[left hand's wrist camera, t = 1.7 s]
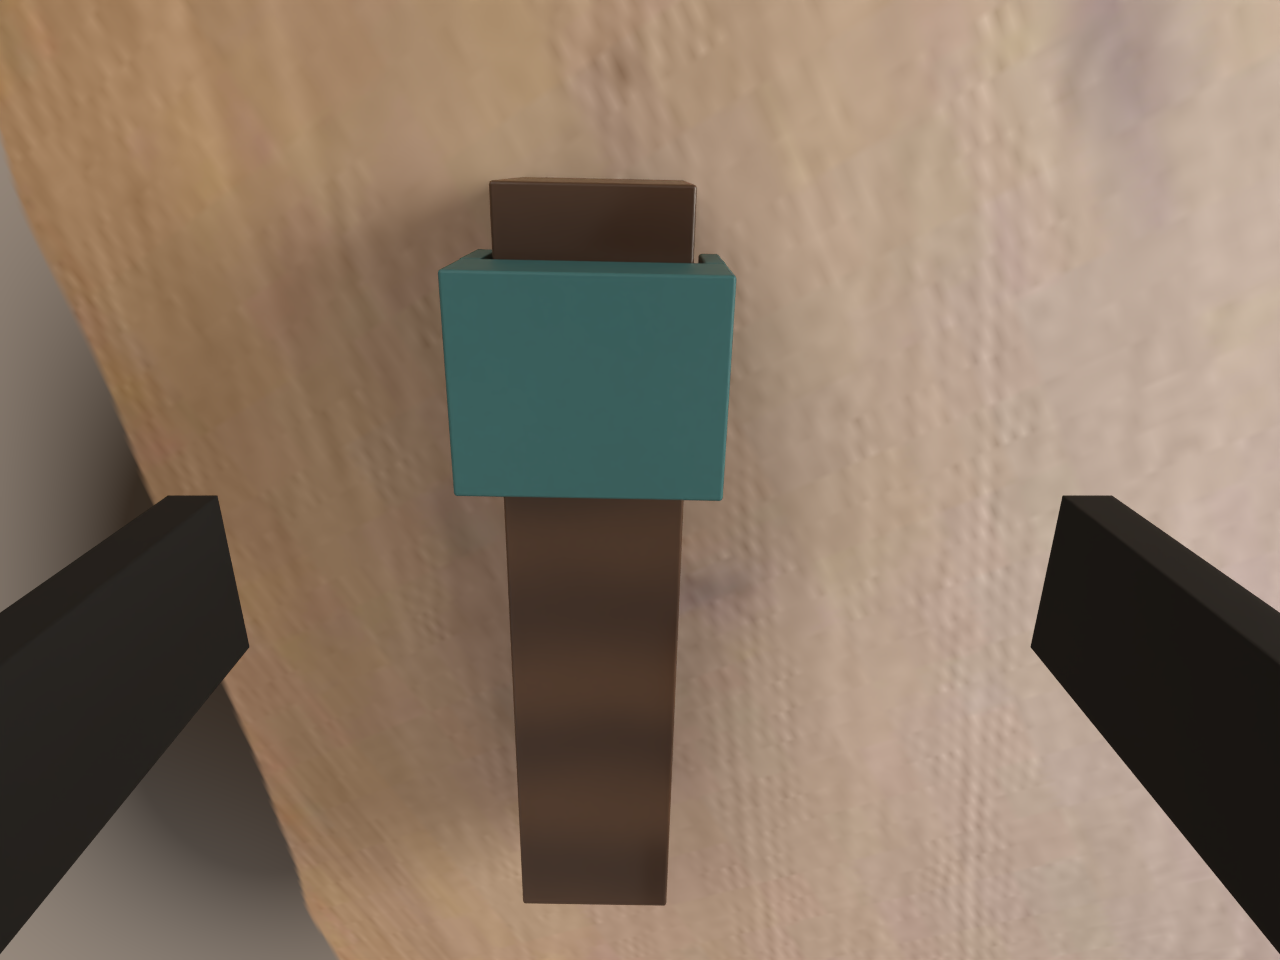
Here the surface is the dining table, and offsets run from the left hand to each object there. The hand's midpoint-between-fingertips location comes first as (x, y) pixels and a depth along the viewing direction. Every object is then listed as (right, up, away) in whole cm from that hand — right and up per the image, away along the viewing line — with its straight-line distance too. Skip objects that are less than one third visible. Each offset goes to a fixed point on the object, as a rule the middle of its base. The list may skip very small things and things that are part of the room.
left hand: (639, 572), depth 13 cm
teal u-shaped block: (-1, +6, +12) cm, 14 cm away
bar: (-2, -1, +19) cm, 19 cm away
